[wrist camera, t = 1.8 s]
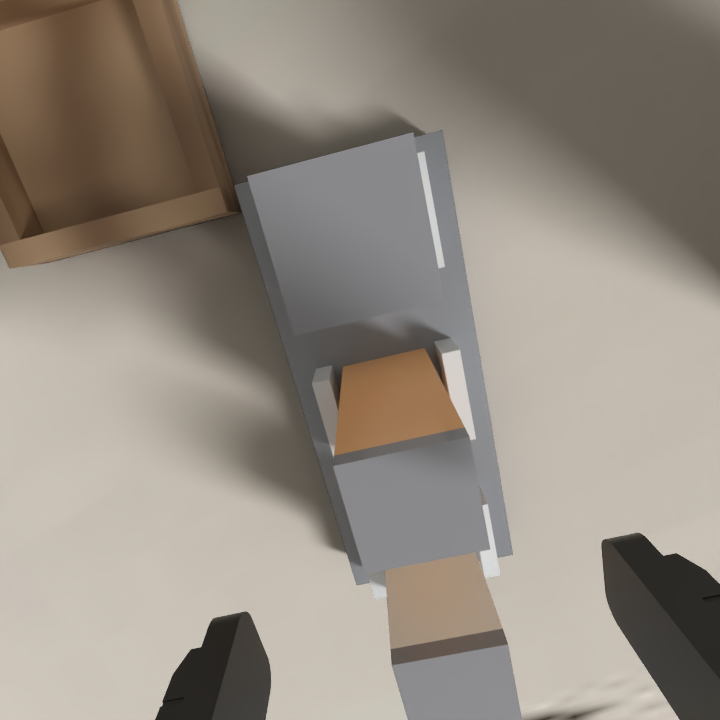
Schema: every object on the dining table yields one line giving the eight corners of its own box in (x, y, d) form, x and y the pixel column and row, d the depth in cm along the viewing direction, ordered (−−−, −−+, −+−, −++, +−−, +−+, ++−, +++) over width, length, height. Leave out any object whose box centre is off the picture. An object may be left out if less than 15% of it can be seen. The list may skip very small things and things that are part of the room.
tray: (165, -38, 18) (135, -77, 16) (242, 212, 21) (226, 211, 19) (-58, 29, 19) (-118, 2, 16) (47, 262, 22) (9, 268, 19)
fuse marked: (424, 347, 21) (469, 436, 13) (439, 422, 22) (490, 549, 14) (342, 366, 21) (333, 466, 13) (362, 439, 23) (364, 574, 14)
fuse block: (434, 138, 20) (516, 52, 10) (501, 530, 27) (594, 732, 16) (245, 187, 21) (131, 158, 10) (356, 559, 27) (355, 772, 17)
